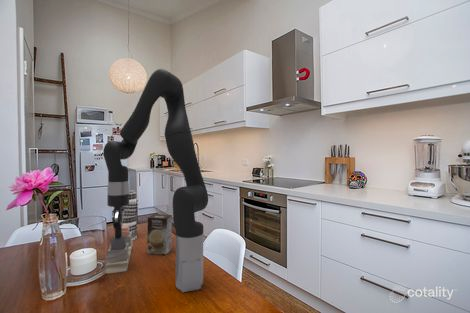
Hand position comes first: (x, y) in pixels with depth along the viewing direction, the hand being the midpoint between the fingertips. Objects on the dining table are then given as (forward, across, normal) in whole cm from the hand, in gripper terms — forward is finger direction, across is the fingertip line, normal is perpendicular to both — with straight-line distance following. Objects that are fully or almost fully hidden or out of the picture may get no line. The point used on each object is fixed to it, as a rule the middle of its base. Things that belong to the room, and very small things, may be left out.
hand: (118, 237), depth 90 cm
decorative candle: (+12, +31, 0) cm, 33 cm away
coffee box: (+12, +9, -16) cm, 21 cm away
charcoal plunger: (+5, 0, 0) cm, 5 cm away
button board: (+11, +7, 0) cm, 13 cm away
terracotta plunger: (+5, +14, 0) cm, 15 cm away
